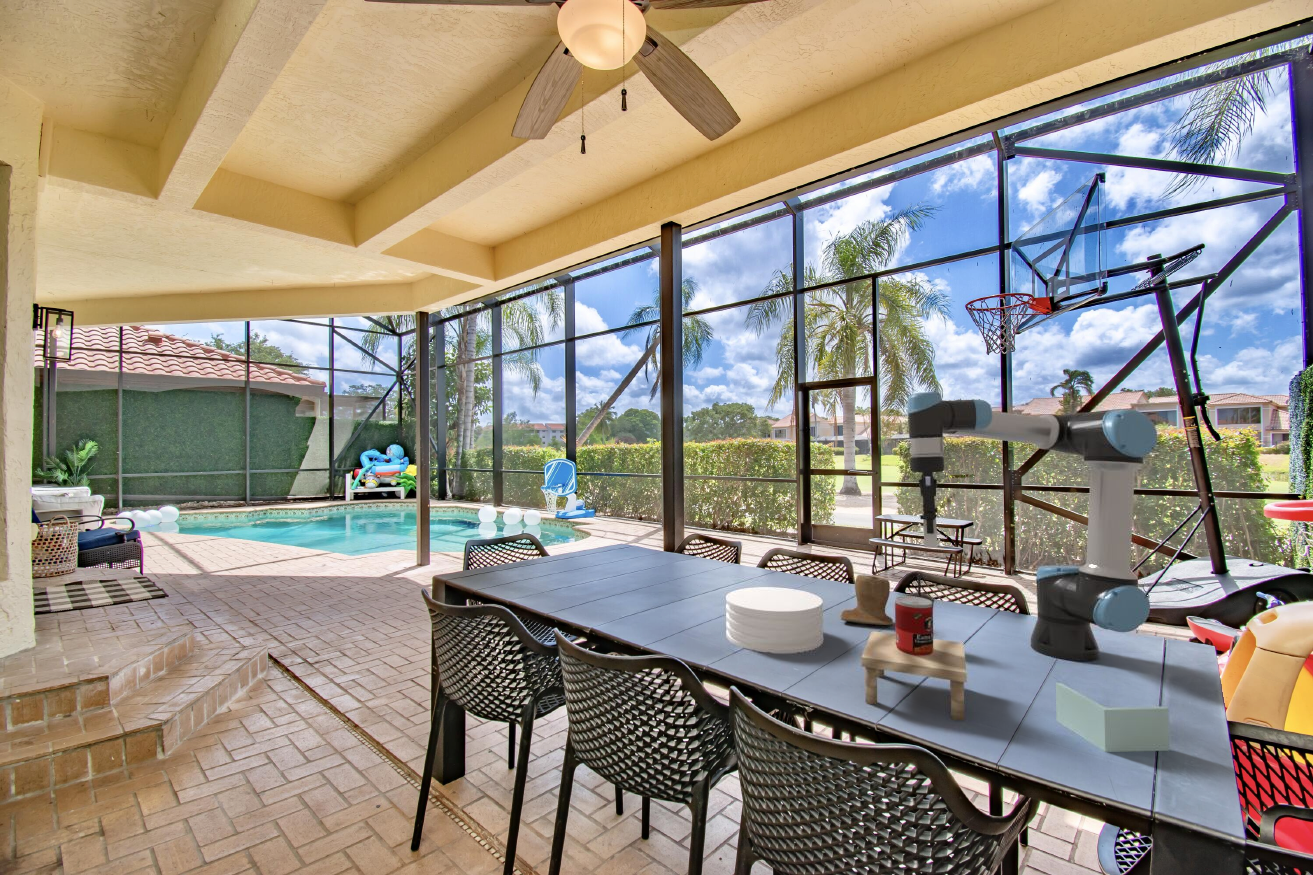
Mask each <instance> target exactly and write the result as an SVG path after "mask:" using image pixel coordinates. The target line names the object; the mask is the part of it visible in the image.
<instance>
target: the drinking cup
mask: <svg viewBox="0 0 1313 875" xmlns="http://www.w3.org/2000/svg"><path fill="white" fill-rule="evenodd" d="M921 583H922V582H921V574H917V592H912V593H909V594H905V595H904V596H914V597H920V598H925V599H928V600H930V601H932V604H933V605H934V602H935V601H936V599H935V598H934V597H933V596H930V594H926V593H923V592H922V589H921V588H922V587H921V585H922V584H921Z"/></svg>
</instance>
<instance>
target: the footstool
mask: <svg viewBox="0 0 1313 875" xmlns="http://www.w3.org/2000/svg"><path fill="white" fill-rule="evenodd" d="M964 644H965V643H964V642H960V641H951V640H946V639H945V640H944V639H938V638H937V639H936V638H933V652H932V653H931V654H929V655H912V654H908V653H905V652H902V651H900V650H899V649H898V648H897V646H896V635H895V633H889V632H883V631H874V630H872V631H871V632H870V635H869V637H868V639H867V642H866V645H865V647H864V649H863V653H862V655H861V667H864V677H865V678H864V680H865V681H864V687H865V689H864V690H865V693H864V695H865V703H866V704H868V705H872V706H874V705H877V704H878V678H884V677H885V671H888V672H894V673H901V674H908V675H915V676H921V677H927V678H934V679H940V680H948V681H949V687H950V717H951V719H952V720H955V721H964V720H965V683H968V679H967V678H968V677H967V676H968V675H967V674H968V673H967V666H966V665H967V664H966V654H965V646H964Z"/></svg>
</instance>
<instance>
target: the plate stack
mask: <svg viewBox="0 0 1313 875" xmlns="http://www.w3.org/2000/svg"><path fill="white" fill-rule="evenodd" d="M725 602H726V604H725V611H726V613H725V619H726V622H725V625H726V626H725V628H726V631H725V636H726V638H727V640H728V641H729V642H730V643H732V644H734V645H736V646H738V647H741V648H744V649H747V650H751V651H754V650H755V651H756V652H761V653H767V652H771V653H770V654H797V652H800V653H805V652H804V651H806V652H809V650H810V651H812V650H816V649H818V648H820V647H821V646H822V645H823V644H822V643H824V618H823V616H824V610H823V607H824V601H823V599H822V598H821V597H820V596H819V595H817V594H814V593H812V592H808V591H805V590H801V589H795V588H787V587H786V588H785V587H775V586H774V587H773V586H769V587H768V586H763V587H761V586H760V587H759V586H757V587H747V588H745V587H744V588H740V589H736V590H733V591H730V592H729V593H727V594H726V596H725ZM821 644H822V645H821ZM820 645H821V646H820ZM819 646H820V647H819ZM817 647H818V648H817ZM815 648H816V649H815Z"/></svg>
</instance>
